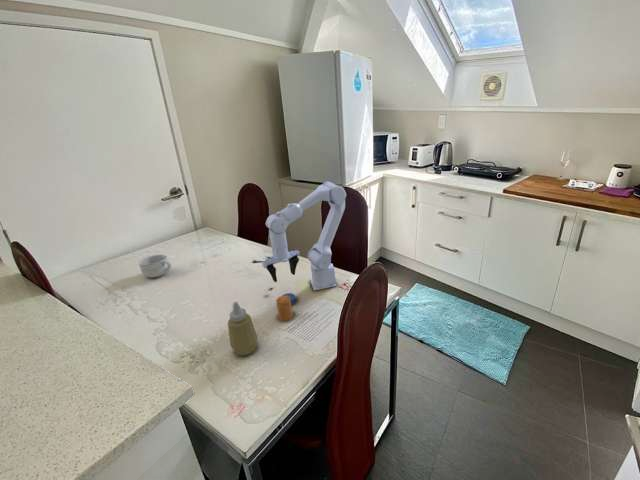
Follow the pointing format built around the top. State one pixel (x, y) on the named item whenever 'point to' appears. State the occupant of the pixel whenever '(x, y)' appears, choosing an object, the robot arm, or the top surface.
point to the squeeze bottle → (241, 331)
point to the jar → (284, 308)
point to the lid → (291, 297)
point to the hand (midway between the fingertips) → (284, 277)
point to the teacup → (154, 265)
